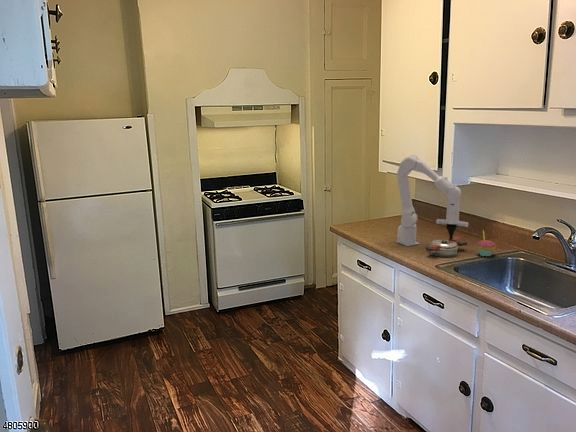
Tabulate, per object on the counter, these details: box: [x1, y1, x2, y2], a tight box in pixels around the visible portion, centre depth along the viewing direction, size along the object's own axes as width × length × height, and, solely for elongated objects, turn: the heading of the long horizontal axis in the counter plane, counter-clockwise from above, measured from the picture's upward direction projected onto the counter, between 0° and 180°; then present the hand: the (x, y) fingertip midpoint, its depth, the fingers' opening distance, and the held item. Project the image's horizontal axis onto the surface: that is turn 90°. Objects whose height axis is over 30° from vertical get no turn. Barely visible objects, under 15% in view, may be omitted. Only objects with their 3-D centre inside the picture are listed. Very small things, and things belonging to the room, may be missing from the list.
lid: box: [430, 236, 461, 250], centre depth 229 cm, size 23×11×2 cm, turn 133°
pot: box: [425, 240, 468, 258], centre depth 229 cm, size 13×23×4 cm, turn 114°
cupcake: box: [475, 229, 497, 258], centre depth 224 cm, size 9×8×12 cm
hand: (451, 239), depth 235 cm, fingers closed, pressing on lid
